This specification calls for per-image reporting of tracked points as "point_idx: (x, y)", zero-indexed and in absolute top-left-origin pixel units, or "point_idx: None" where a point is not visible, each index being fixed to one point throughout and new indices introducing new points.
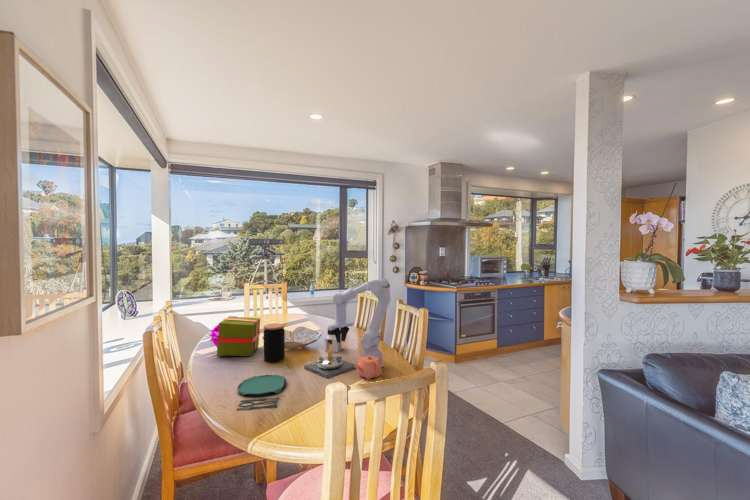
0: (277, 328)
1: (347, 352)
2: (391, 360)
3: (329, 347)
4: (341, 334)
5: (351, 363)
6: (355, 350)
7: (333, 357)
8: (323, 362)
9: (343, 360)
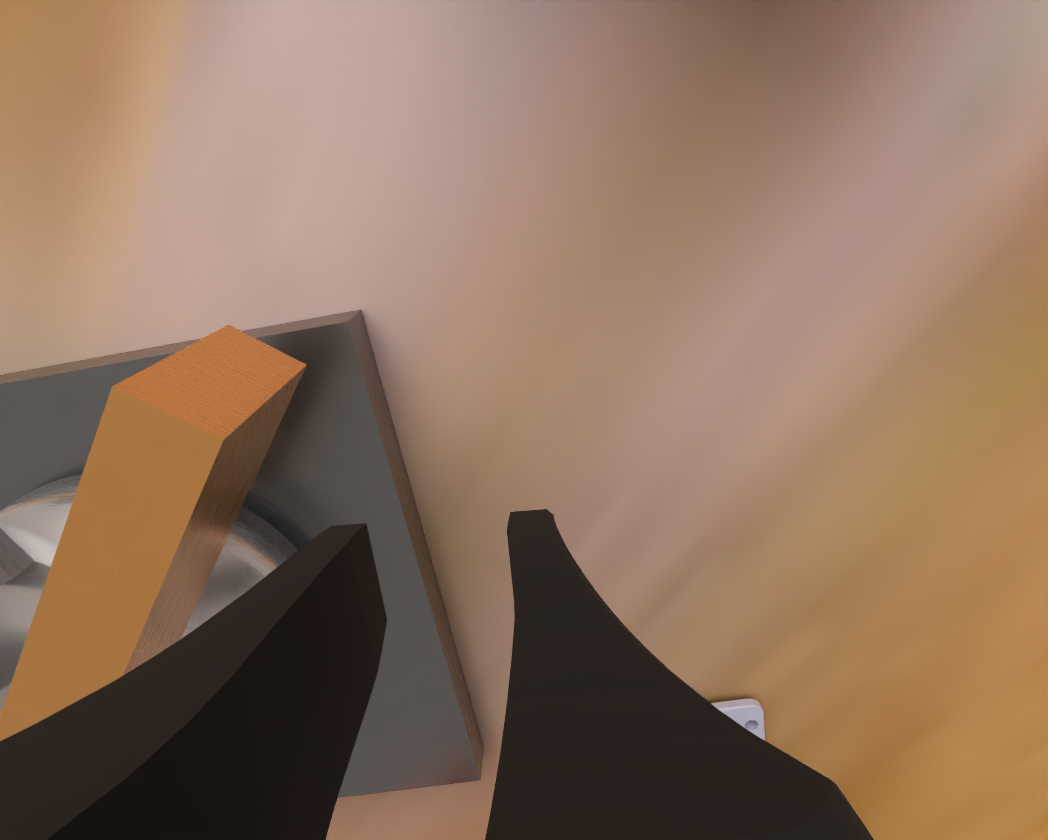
0: None
1: (817, 90)
2: (988, 779)
3: (63, 620)
4: (516, 626)
5: (457, 719)
6: (1037, 73)
7: (223, 596)
8: (2, 691)
9: (421, 577)
